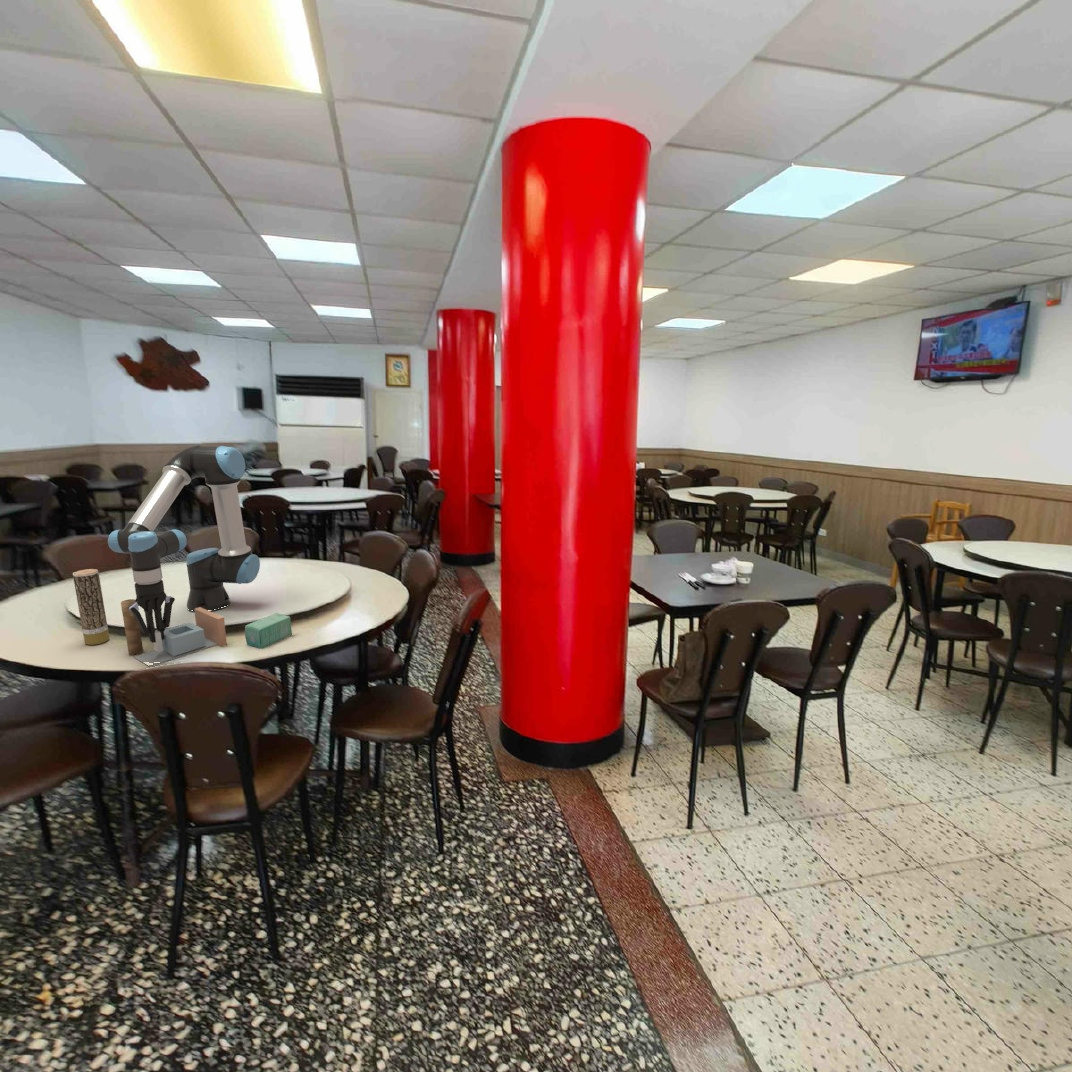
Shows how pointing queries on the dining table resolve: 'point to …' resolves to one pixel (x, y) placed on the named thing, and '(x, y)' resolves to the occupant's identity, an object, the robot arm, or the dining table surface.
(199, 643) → the socket block
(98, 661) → the dining table surface
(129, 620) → the dowel
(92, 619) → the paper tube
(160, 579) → the robot arm
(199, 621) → the wall
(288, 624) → the box
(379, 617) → the dining table surface
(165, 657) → the mat
